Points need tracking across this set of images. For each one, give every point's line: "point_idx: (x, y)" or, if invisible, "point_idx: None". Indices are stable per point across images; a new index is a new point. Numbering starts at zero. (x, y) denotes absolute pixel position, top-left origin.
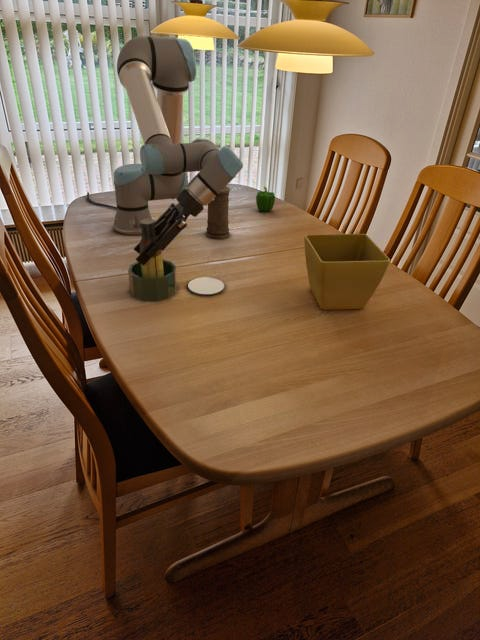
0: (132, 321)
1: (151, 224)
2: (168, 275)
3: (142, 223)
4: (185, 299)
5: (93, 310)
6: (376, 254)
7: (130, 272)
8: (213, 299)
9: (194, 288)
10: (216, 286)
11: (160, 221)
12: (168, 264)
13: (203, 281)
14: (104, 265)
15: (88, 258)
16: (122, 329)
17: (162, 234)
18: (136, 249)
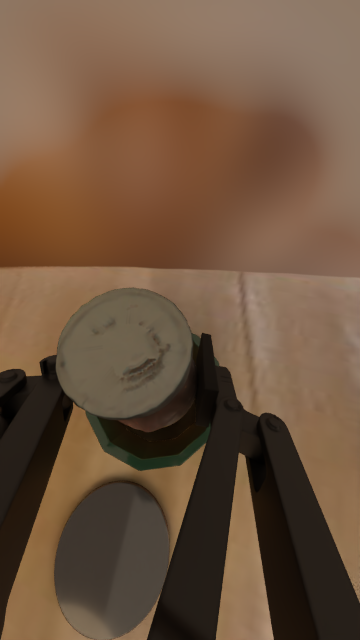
0: (64, 317)
1: (58, 365)
2: (90, 420)
3: (99, 296)
4: (83, 451)
5: (131, 273)
6: None
7: None
8: (39, 540)
9: (112, 500)
10: (90, 593)
11: (222, 511)
12: (178, 451)
13: (140, 554)
14: (298, 321)
15: (333, 300)
16: (50, 298)
17: (6, 438)
18: (201, 341)
